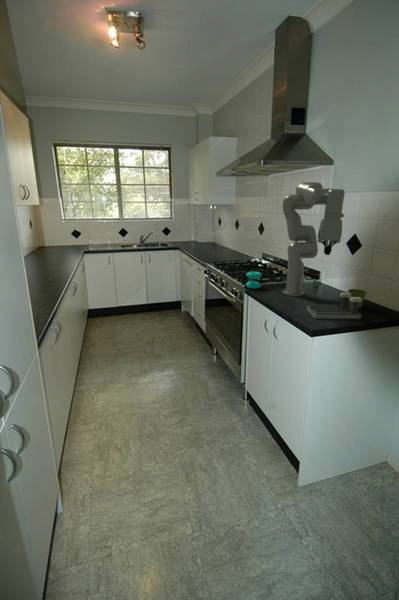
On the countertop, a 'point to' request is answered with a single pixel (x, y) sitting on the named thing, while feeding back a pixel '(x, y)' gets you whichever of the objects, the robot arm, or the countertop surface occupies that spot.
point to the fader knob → (355, 304)
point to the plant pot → (357, 295)
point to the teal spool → (253, 283)
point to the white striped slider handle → (345, 299)
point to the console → (332, 312)
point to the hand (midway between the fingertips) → (327, 254)
